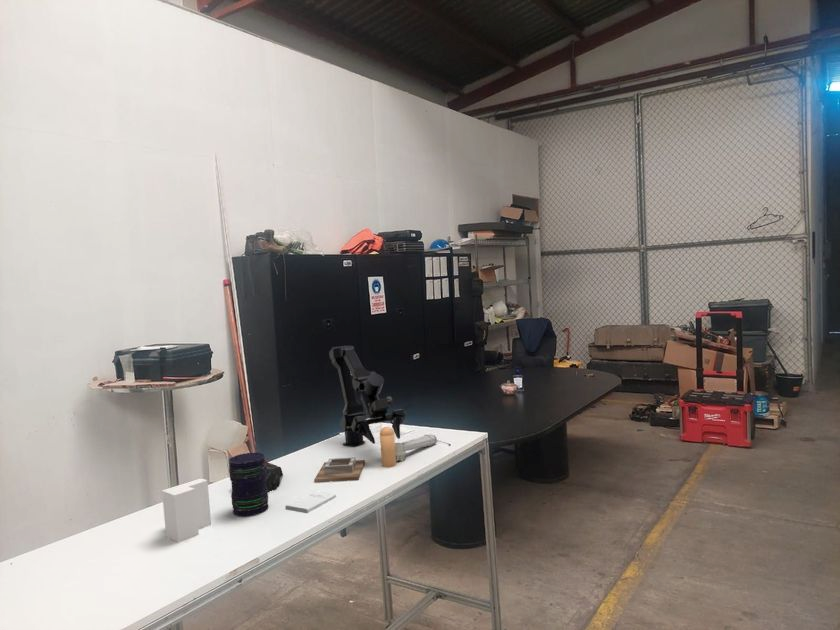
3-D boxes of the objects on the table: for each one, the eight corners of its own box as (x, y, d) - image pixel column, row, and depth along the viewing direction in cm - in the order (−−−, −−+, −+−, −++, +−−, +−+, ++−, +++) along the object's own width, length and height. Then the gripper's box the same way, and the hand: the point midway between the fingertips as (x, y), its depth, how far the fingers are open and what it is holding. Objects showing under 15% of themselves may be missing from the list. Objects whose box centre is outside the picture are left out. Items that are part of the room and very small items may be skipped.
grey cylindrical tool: (438, 434, 219) (398, 442, 198) (438, 452, 218) (397, 462, 198) (426, 433, 222) (386, 440, 201) (426, 451, 221) (385, 460, 201)
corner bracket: (178, 542, 145) (174, 495, 145) (157, 532, 153) (153, 487, 152) (217, 527, 153) (214, 482, 153) (196, 518, 161) (192, 475, 160)
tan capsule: (379, 466, 197) (376, 428, 196) (388, 462, 201) (385, 424, 200) (390, 468, 194) (387, 429, 193) (399, 463, 198) (396, 426, 197)
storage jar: (272, 502, 169) (268, 451, 169) (265, 515, 160) (261, 461, 159) (237, 505, 169) (233, 454, 168) (228, 518, 159) (223, 464, 158)
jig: (324, 465, 202) (324, 455, 202) (364, 462, 202) (364, 452, 202) (314, 482, 184) (313, 472, 184) (358, 479, 184) (357, 469, 184)
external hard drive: (285, 510, 163) (314, 495, 174) (308, 515, 159) (336, 499, 170) (285, 505, 163) (314, 490, 174) (307, 509, 159) (336, 493, 170)
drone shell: (256, 499, 173) (253, 473, 173) (212, 491, 183) (210, 466, 183) (305, 477, 191) (303, 453, 190) (263, 470, 201) (261, 447, 201)
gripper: (351, 393, 197) (366, 431, 188) (401, 386, 206) (417, 422, 196) (345, 413, 205) (359, 450, 195) (394, 405, 213) (409, 440, 204)
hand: (386, 440), depth 197 cm, fingers open, 9 cm apart
